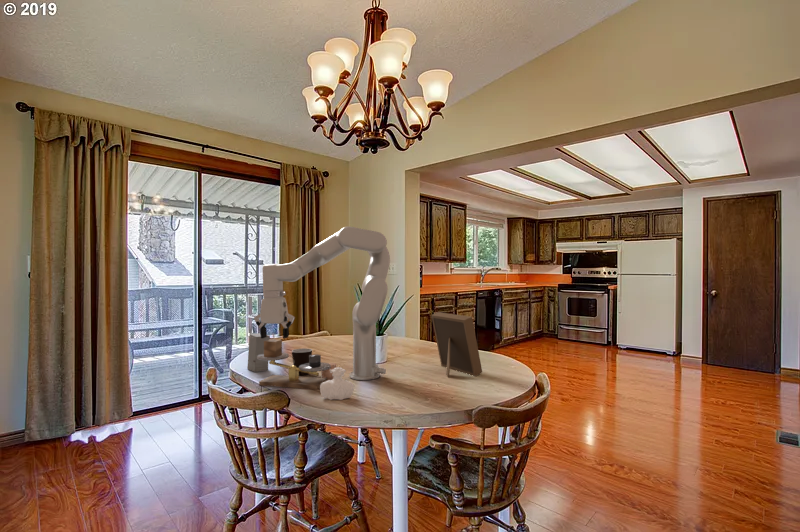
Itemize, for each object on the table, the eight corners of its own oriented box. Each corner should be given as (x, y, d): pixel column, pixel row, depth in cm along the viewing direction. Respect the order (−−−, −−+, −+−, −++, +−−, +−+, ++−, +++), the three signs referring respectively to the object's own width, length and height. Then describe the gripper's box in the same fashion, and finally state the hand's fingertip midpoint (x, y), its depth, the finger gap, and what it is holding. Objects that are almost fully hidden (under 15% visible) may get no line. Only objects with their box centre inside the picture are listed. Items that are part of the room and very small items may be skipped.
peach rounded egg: (338, 377, 167) (338, 363, 167) (332, 381, 161) (332, 366, 161) (325, 376, 168) (325, 362, 168) (319, 380, 162) (319, 365, 162)
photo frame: (448, 364, 188) (447, 311, 188) (482, 374, 170) (481, 315, 170) (423, 369, 180) (422, 313, 180) (456, 380, 162) (455, 318, 162)
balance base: (327, 381, 160) (327, 378, 160) (316, 389, 151) (316, 385, 151) (272, 378, 166) (272, 374, 166) (259, 385, 156) (259, 381, 156)
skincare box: (247, 369, 181) (247, 333, 181) (262, 366, 186) (262, 332, 186) (254, 372, 175) (254, 336, 175) (270, 369, 180) (270, 334, 180)
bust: (354, 403, 141) (356, 373, 148) (352, 395, 135) (354, 364, 142) (320, 403, 141) (324, 372, 148) (316, 395, 135) (320, 364, 142)
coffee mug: (309, 376, 169) (309, 352, 169) (289, 376, 169) (289, 352, 169) (315, 369, 180) (315, 347, 180) (296, 369, 180) (296, 347, 181)
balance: (335, 377, 161) (335, 353, 161) (323, 386, 149) (323, 359, 149) (267, 373, 167) (267, 349, 167) (250, 381, 156) (250, 356, 156)
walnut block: (281, 354, 162) (281, 339, 162) (275, 357, 157) (275, 341, 157) (270, 354, 163) (270, 339, 163) (263, 356, 158) (263, 341, 158)
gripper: (297, 293, 162) (299, 336, 162) (259, 294, 166) (260, 336, 166) (288, 295, 155) (290, 339, 155) (248, 296, 159) (249, 339, 159)
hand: (274, 337), depth 160 cm, fingers open, 9 cm apart
